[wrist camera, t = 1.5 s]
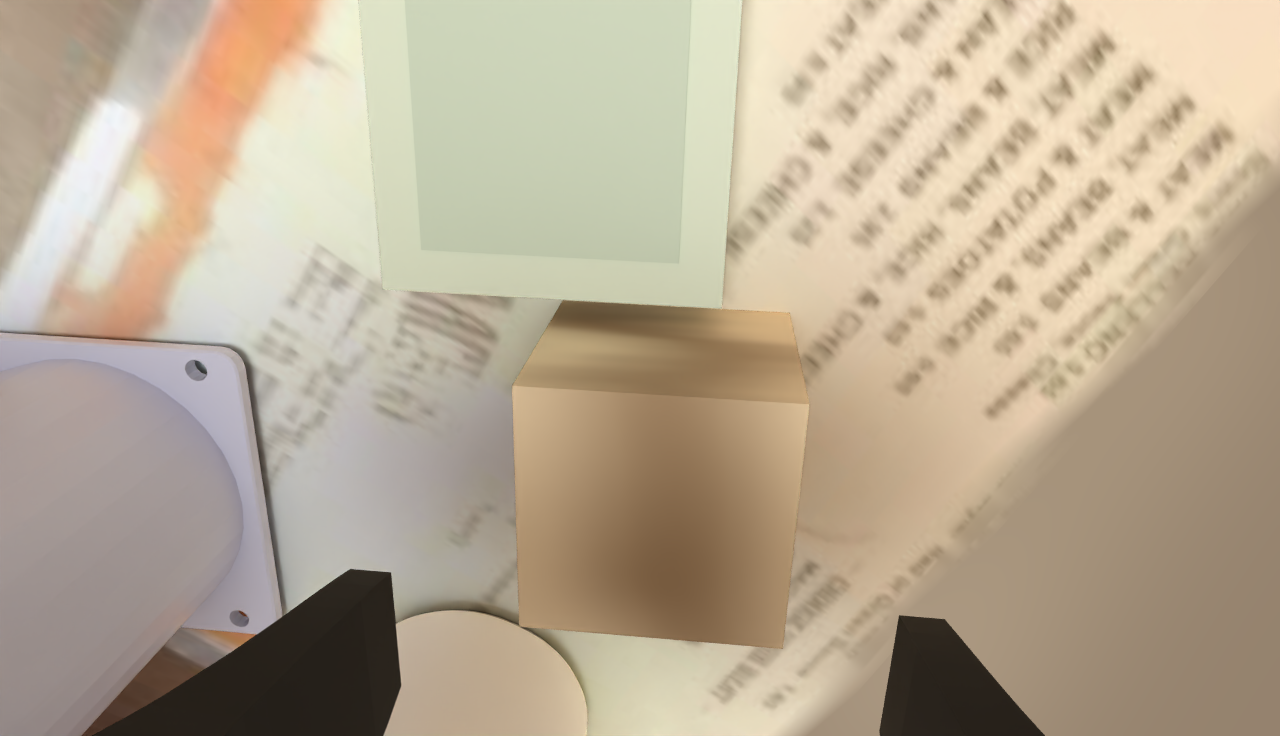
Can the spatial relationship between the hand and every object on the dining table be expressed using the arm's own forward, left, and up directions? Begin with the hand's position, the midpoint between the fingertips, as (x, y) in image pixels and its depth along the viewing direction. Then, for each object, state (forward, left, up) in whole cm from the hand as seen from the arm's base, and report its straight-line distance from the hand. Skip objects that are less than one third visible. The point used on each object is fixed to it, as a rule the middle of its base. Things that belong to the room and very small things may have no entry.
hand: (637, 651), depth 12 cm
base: (-3, +6, -8) cm, 11 cm away
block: (0, 0, -8) cm, 8 cm away
